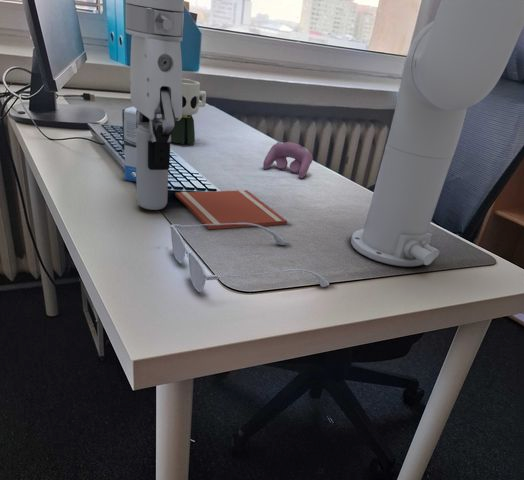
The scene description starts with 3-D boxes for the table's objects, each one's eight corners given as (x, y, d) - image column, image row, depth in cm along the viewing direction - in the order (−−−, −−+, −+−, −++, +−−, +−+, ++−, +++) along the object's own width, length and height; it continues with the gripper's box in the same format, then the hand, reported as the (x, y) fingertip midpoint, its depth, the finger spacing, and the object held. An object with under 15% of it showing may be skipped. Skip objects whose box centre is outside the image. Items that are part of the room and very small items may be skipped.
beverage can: (131, 201, 82) (130, 122, 75) (157, 198, 85) (158, 121, 78) (146, 212, 79) (146, 130, 72) (173, 208, 82) (175, 129, 75)
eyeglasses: (167, 248, 71) (168, 220, 69) (282, 242, 78) (286, 217, 76) (203, 303, 60) (205, 272, 58) (332, 290, 67) (339, 262, 65)
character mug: (163, 146, 114) (164, 82, 107) (153, 137, 119) (154, 75, 112) (208, 147, 119) (213, 85, 112) (197, 139, 124) (201, 79, 117)
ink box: (149, 185, 92) (150, 114, 85) (123, 180, 92) (122, 109, 85) (166, 173, 99) (168, 107, 92) (141, 168, 99) (142, 102, 92)
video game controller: (307, 183, 111) (317, 151, 110) (302, 177, 107) (313, 144, 106) (266, 172, 114) (276, 140, 113) (260, 166, 110) (270, 133, 109)
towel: (286, 224, 85) (287, 220, 85) (208, 229, 79) (209, 225, 78) (246, 193, 95) (247, 189, 95) (175, 195, 89) (175, 191, 89)
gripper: (205, 35, 64) (196, 181, 74) (160, 20, 76) (158, 148, 86) (146, 28, 61) (145, 182, 71) (109, 14, 72) (113, 147, 83)
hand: (152, 162), depth 78 cm, fingers closed on beverage can, 4 cm apart
